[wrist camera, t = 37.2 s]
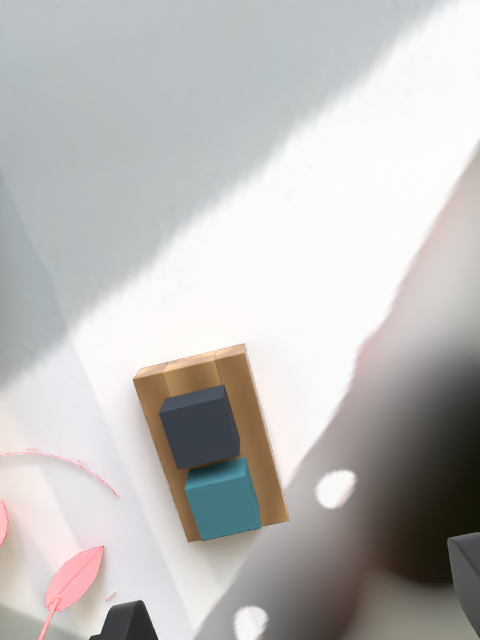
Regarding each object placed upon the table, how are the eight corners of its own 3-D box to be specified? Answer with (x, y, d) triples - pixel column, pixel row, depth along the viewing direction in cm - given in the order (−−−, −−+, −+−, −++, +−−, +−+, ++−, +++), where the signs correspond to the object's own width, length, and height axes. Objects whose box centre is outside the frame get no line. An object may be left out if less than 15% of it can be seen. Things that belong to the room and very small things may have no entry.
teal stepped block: (207, 498, 41) (201, 541, 35) (192, 452, 40) (184, 489, 34) (258, 486, 41) (261, 528, 35) (245, 440, 39) (245, 475, 34)
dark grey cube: (186, 435, 39) (177, 470, 33) (170, 386, 38) (158, 412, 32) (240, 423, 39) (239, 455, 33) (225, 372, 38) (222, 397, 32)
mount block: (191, 521, 42) (188, 542, 39) (140, 368, 38) (132, 379, 35) (285, 501, 41) (289, 521, 38) (244, 343, 37) (244, 352, 34)
